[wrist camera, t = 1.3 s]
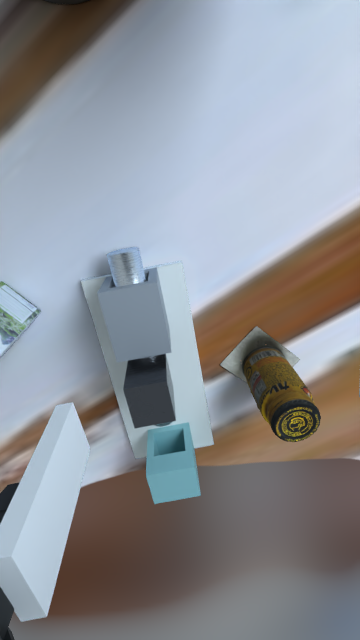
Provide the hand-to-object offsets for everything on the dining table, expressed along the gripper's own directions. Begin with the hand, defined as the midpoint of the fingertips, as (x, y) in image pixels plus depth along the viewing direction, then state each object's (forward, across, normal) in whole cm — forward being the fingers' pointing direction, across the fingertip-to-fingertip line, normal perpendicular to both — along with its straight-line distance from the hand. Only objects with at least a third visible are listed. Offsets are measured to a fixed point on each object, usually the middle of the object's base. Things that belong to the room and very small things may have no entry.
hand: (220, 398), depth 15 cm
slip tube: (+24, -6, -7) cm, 26 cm away
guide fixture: (+26, -6, -13) cm, 30 cm away
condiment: (+27, +8, -15) cm, 32 cm away
